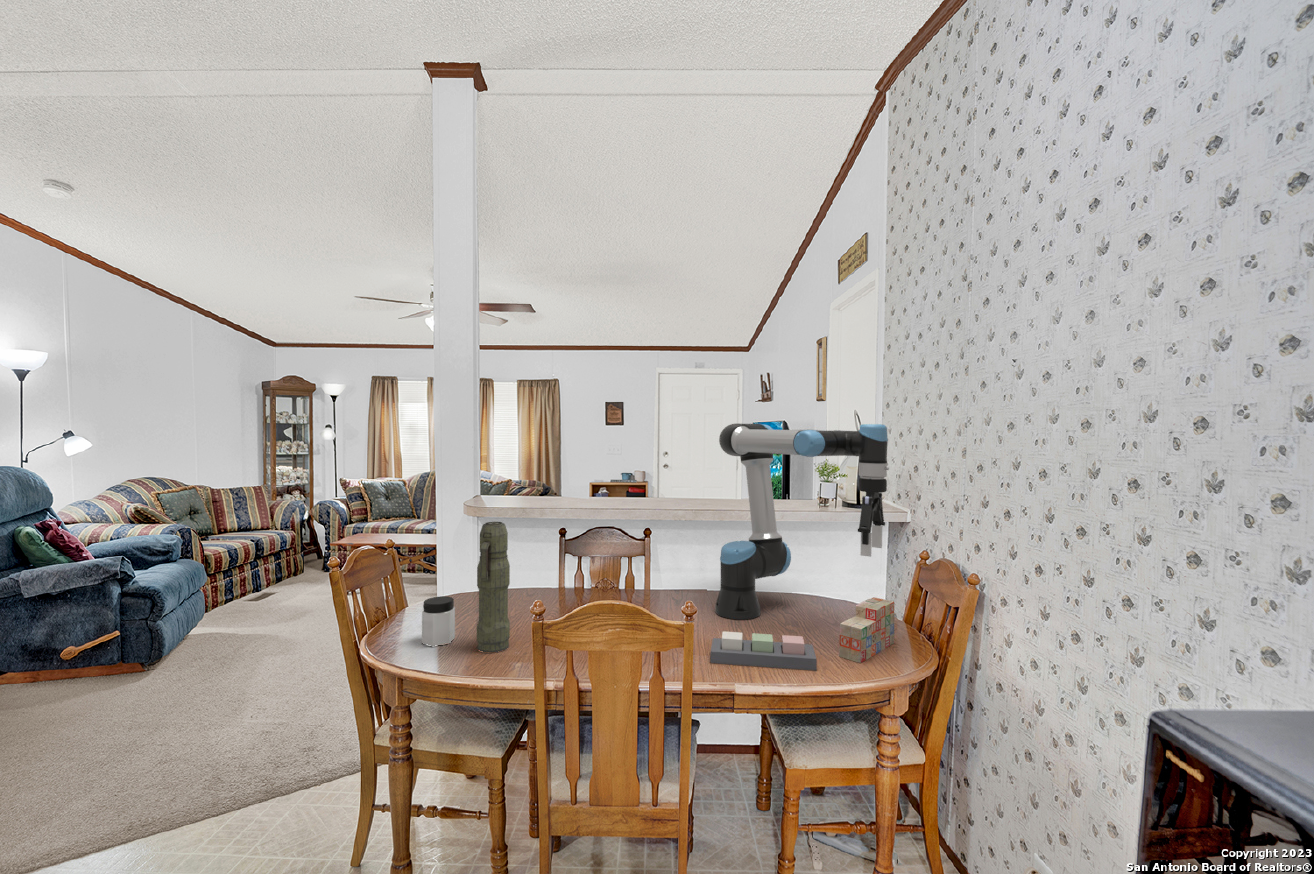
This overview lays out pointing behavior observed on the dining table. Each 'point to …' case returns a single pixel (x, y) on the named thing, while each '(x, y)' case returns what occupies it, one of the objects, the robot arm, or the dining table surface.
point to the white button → (732, 641)
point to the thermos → (493, 588)
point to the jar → (438, 620)
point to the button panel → (763, 656)
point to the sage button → (762, 643)
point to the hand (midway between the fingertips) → (871, 551)
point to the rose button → (792, 645)
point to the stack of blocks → (867, 630)
